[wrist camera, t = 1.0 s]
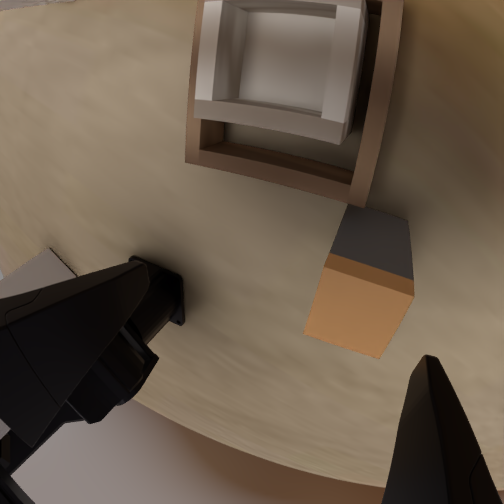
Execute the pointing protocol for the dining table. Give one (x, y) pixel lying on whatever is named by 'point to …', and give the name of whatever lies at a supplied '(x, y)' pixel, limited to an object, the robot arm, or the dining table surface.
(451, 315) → the dining table surface
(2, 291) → the milk carton
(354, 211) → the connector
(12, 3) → the white cup
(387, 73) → the walled box
